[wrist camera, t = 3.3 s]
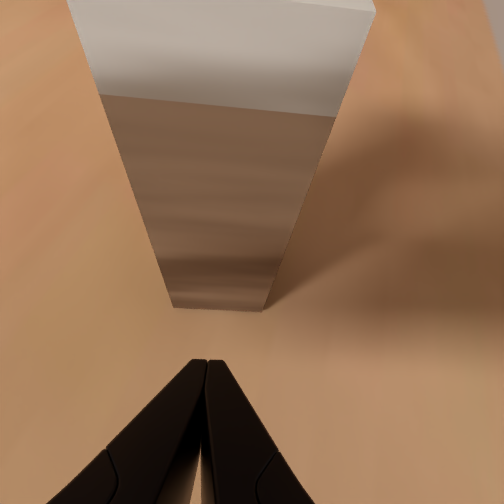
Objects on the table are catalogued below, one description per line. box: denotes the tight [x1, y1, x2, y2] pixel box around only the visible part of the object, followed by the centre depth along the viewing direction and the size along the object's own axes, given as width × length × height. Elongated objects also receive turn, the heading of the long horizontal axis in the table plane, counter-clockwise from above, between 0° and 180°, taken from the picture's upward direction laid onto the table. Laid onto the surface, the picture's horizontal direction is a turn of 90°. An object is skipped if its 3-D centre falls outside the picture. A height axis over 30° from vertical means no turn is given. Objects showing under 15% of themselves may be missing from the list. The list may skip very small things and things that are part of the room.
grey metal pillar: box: [67, 0, 376, 312], centre depth 13 cm, size 5×5×15 cm
